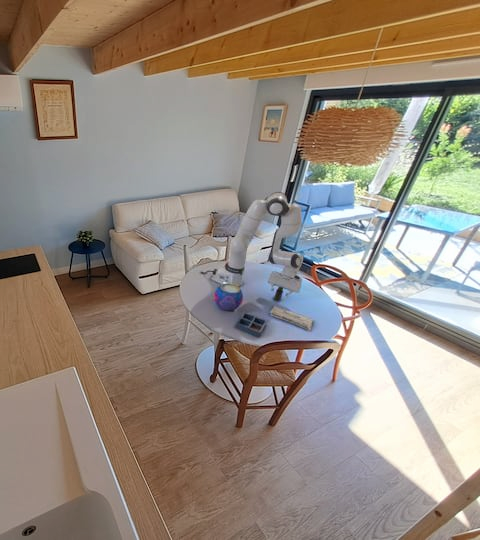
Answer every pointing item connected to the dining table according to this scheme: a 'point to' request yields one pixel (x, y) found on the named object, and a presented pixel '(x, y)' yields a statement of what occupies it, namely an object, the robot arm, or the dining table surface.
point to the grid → (251, 324)
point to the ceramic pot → (228, 296)
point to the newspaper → (292, 317)
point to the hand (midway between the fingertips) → (279, 293)
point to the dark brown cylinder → (278, 294)
